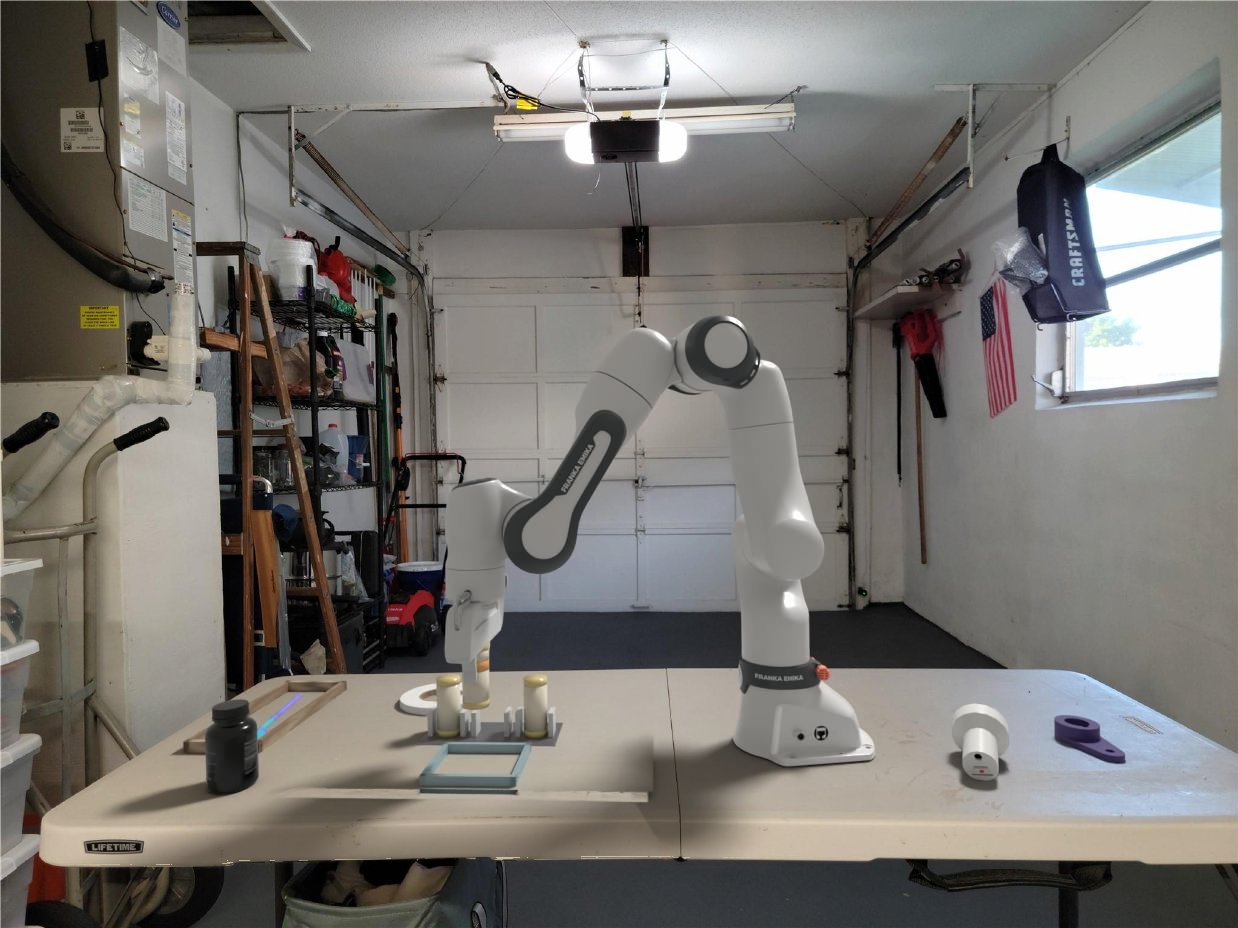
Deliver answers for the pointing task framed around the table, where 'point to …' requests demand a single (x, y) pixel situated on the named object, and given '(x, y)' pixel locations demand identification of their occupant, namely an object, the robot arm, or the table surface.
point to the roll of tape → (420, 699)
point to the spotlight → (980, 739)
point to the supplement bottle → (231, 748)
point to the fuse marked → (478, 684)
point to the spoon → (276, 716)
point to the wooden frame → (333, 690)
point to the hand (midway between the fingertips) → (476, 676)
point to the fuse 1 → (448, 705)
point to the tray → (474, 779)
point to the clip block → (491, 729)
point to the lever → (1086, 737)
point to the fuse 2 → (535, 706)
